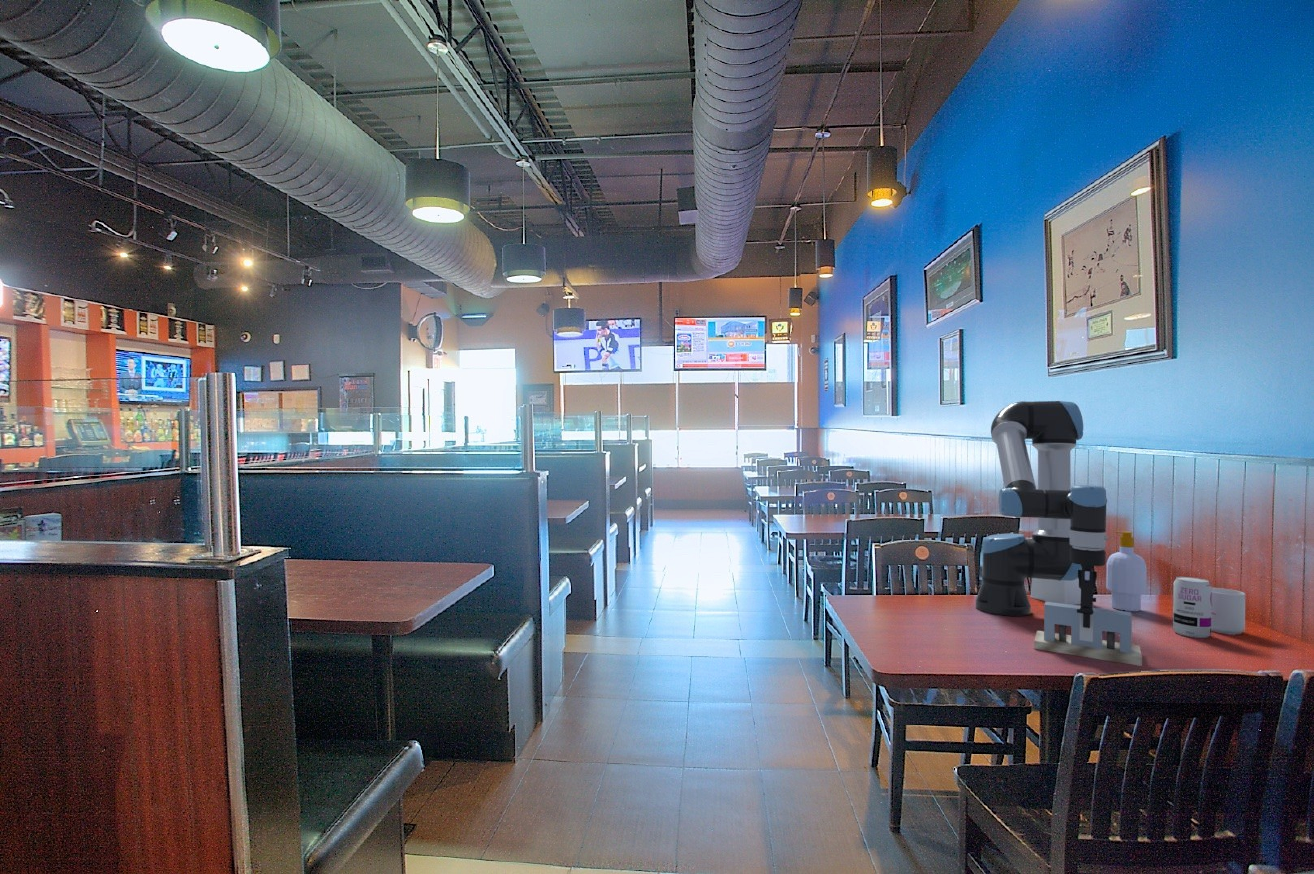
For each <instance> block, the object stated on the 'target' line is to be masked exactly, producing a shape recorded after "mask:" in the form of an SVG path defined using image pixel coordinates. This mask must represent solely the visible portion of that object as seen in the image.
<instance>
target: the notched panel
mask: <svg viewBox="0 0 1314 874" xmlns="http://www.w3.org/2000/svg"><path fill="white" fill-rule="evenodd" d="M1044 602H1045V603H1044V608H1043V609H1044V611H1043V612H1044V613H1043V614H1044V616H1043V618H1044V621H1043V623H1044V624H1043V631H1044V640H1046V641H1052V642H1054V640H1055V633H1056V625H1058V626H1059V625H1066V626H1067V627H1070V635H1071V644H1072V645H1078V646H1085V647H1091V648H1098V649H1102V640H1103V632H1107V631H1109V632H1115V634H1116V633H1117V634H1119V643H1120V652H1124V653H1130V654H1131V644H1132V639H1133V638H1132V635H1133V633H1132V630H1133V629H1132V627H1133V626H1132V625H1133V616H1132V611H1123V610H1118V609H1107V608H1098V607H1093V642H1090V641H1084V640H1080V613H1077V609H1080V608H1081V605H1078V604H1076V605H1070V604H1062V603H1054V602H1047V601H1044Z"/></svg>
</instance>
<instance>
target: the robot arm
mask: <svg viewBox="0 0 1314 874" xmlns="http://www.w3.org/2000/svg"><path fill="white" fill-rule="evenodd" d="M990 434H991V438H992V441H993V443H994V444H996V448H997V452H998V458H999V464H1000V470H1001V474H1002V480H1003V486H1004V488H1000V490H999V491H998V497H997V498H998V499H997V500H998V501H997V504H998V511H999V513H1000V514H1001V515H1002V516H1005V517H1014V518H1036V519H1037V529H1036V530H1034V531H1033V532H1032V535H1031V536H1032V538H1031V539H1027V538H1026V536H1025V534H1022V533H998V534H996V533H995V534H991V535H987V536H986V537H985V538H983V541H982V549H981V553H982V567H981V568H982V569H981V570H982V571H981V585H980V587H979V590H978V593H977V595H976V598H975V608H976V609H978V610H980V611H982V612H986V613H989V614H994V615H995V614H996V615H1001V616H1009V617H1024V616H1028V615H1030V614H1031V613H1032V612H1031V609H1032V608H1031V607H1032V606H1031V603H1030V600H1029V597H1028V594H1027V590H1026V587H1025V579H1029V578H1030V579H1032V578H1037V579H1051V580H1058V581H1061V580H1068V581H1072V580H1075V579H1077V578H1078V579H1079V588H1080V589H1081V604H1080V606H1081V608H1080V609H1077V613H1080V640H1084V641H1090V642H1093V608H1094V603H1097V597H1094V591H1095V590H1096V581H1097V580H1098V578H1097V576H1098V571H1094V567H1103V566H1105V565H1107V561H1106V560H1107V559H1106V557H1107V555H1106V554H1107V552H1106V551H1105V548H1106V542H1107V541H1108V540H1109V539H1110V537H1109V536H1108V535H1107V534H1106V531H1107V505H1108V498H1107V490H1106V488H1105V487H1103V486H1098V485H1091V484H1090V485H1087V484H1086V485H1085V484H1084V485H1082V484H1077V485H1071V481H1072V479H1071V478H1072V476H1071V470H1072V469H1071V451H1072V450H1073V449H1074V448H1075V447H1077V441H1079V440H1081V439H1083V435H1084V420H1083V416H1082V411H1081V409H1080V407H1079V406H1078V404H1077V403H1076V402H1074V401H1066V400H1065V401H1063V400H1051V401H1049V400H1048V401H1046V400H1043V401H1040V400H1039V401H1027V400H1026V401H1025V400H1024V401H1016V402H1013V403H1011V404H1008V405H1006V406H1005V407H1004V408H1002V409H1001V410H1000V411H999V412H998V413H997V414H996V415H995V417H994V419H993V420H992V422H991V426H990ZM1026 440H1031V442H1032V443H1031V446H1033V447H1034V449H1036V450H1037V487H1036V482H1035V478H1034V475H1033V469H1032V463H1031V461H1030V456H1029V453H1028V448H1027V442H1026ZM1071 486H1072V487H1071Z"/></svg>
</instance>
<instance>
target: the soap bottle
mask: <svg viewBox="0 0 1314 874" xmlns="http://www.w3.org/2000/svg"><path fill="white" fill-rule="evenodd" d="M1114 533H1116V534H1121V536H1120V535H1119V552H1118V551H1117V552H1115V553H1112V554H1110V555H1109V557H1108V558H1107V561H1106V581H1105V585H1106V587H1105V588H1106V590H1107V591H1110V592H1111V594H1110V595H1111V596H1110V599H1111V600H1110V601H1111V603H1110V605H1111V607H1112V608H1113V609H1114V610H1118V611H1123V610H1125V612H1139V611H1141V610H1142V609H1141V607H1142V595H1145V594H1147V580H1148V579H1147V577H1148V576H1147V573H1148V572H1147V571H1148V569H1147V568H1148V567H1147V564H1146V561H1145V560H1144V557H1142V556H1140V555H1138V554H1136V553H1134V552H1135V551H1134V550H1135V548H1134V547H1135V544H1134V543H1135V542H1134V540H1135V537H1132V532H1131V531H1118V530H1114Z"/></svg>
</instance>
